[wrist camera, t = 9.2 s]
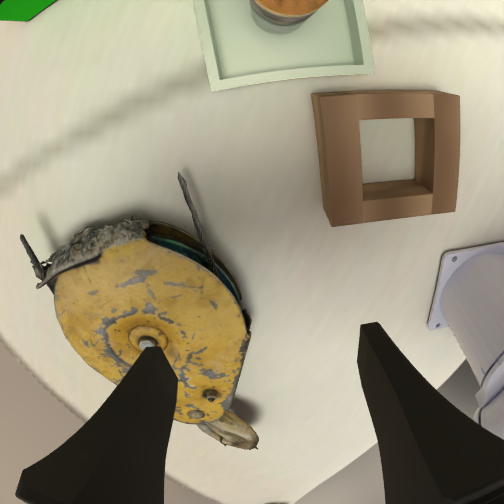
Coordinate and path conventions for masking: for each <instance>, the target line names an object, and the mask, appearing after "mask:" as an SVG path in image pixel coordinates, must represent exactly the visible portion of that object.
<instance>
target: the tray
mask: <svg viewBox="0 0 504 504" xmlns="http://www.w3.org/2000/svg"><path fill="white" fill-rule="evenodd" d="M193 3H194V8H195V13H196V18H197V23H198V28H199V33H200V38H201V43H202V48H203V53H204V58H205V63H206V68H207V73H208V78H209V83H210V88H211V92H213V91H218V90H223V89H229V88H234V87H240V86H246V85H252V84H259V83H265V82H273V81H281V80H289V79H298V78H309V77H321V76H336V75H358V74H374V66H373V58H372V51H371V44H370V38H369V32H368V26H367V20H366V15H365V10H364V5H363V0H328V1H327V2H326V3H325V4H324V5H323V6H322V7H321V8H320V9H318V10H317V11H316V12H315V13H314V14H313V15H312V16H311V17H310V18H309V19H307V20H306V21H305V22H304V23H303V24H302V25H301V26H300V27H299V28H298V29H296V30H295V31H293V32H290V33H287V34H272V33H269V32H266V31H264V30H263V29H261V28H260V27H259V26H258V25H257V24H256V23H255V22H254V20H253V18H252V14H251V8H250V1H249V0H193Z"/></svg>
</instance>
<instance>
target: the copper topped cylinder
mask: <svg viewBox="0 0 504 504" xmlns="http://www.w3.org/2000/svg"><path fill="white" fill-rule="evenodd" d="M249 1H250V8H251V14H252V18H253V20H254V22H255V23H256V24H257V25H258V26H259V27H260V28H261V29H263V30H264V31H266V32H269V33H272V34H287V33H290V32H293V31H295V30H296V29H298V28H299V27H300V26H301V25H302V24H303V23H304V22H305V21H306V20H307V19H309V18H310V17H311V16H312V15H313V14H314V13H315V12H316V11H317V10H318V9H320V8H321V7H322V6H323V5H324V4H325V3H326V2H327V1H328V0H249Z"/></svg>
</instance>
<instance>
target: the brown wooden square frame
mask: <svg viewBox="0 0 504 504" xmlns="http://www.w3.org/2000/svg"><path fill="white" fill-rule="evenodd" d="M311 96H312V103H313V111H314V118H315V126H316V135H317V143H318V153H319V162H320V172H321V183H322V195H323V207H324V210H325V213H326V215H327V217H328V219H329V222H330V224H331V226H332V227H336V226H343V225H351V224H359V223H367V222H375V221H382V220H390V219H398V218H407V217H415V216H423V215H431V214H440V213H448V212H455V208H456V199H457V188H458V176H459V159H460V96H458V95H454V94H450V93H445V92H440V91H427V90H363V91H342V92H328V93H316V94H311ZM389 118H414V119H415V179H411V180H400V181H389V182H378V183H368V184H362V165H361V148H360V133H359V121H358V120H367V119H389Z"/></svg>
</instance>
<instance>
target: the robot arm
mask: <svg viewBox="0 0 504 504" xmlns="http://www.w3.org/2000/svg"><path fill="white" fill-rule="evenodd" d="M454 256H455V257H454ZM453 257H454V258H453ZM452 258H453V259H452ZM447 326H449V327H450V328H451V330H452V332H453V334H454V336H455V337H456V339H457V341H458V343H459V345H460V347H461V349H462V351H463V352H464V354H465V356H466V358H467V360H468V362H469V364H470V366H471V368H472V370H473V372H474V374H475V376H476V378H477V381H478V382H479V385H480V387H481V389H480V391H479V392H478V393H477V394H476V395H475V397H476V399H477V402H478V404H479V408H478V409H477V410H476V412H475V414H474V418H473V420H472V419H471V418H469V417H468V416H467V415H465V414H464V413H462V412H461V411H460V410H459V409H457V408H456V407H455V406H454V405H453V404H451V403H450V402H449V401H448V400H447V399H446V398H444V397H443V396H442V395H441V394H440V393H439V392H438V391H437V390H436V389H435V388H434V387H433V386H432V385H431V384H430V383H429V382H428V381H427V380H426V379H425V378H424V377H423V376H422V375H421V374H420V373H419V372H418V371H417V369H416V368H415V367H414V366H413V365H412V364H411V363H410V361H409V360H408V359H407V358H406V357H405V356H404V354H403V353H402V352H401V351H400V350H399V348H398V347H397V346H396V345H395V343H394V342H393V341H392V340H391V338H390V337H389V336H388V334H387V333H386V332H385V330H384V329H383V328H382V326H381V325H380V324H379V323H378V322H374V323H368V324H362V325H361V326H360V337H359V348H358V357H357V363H358V369H359V374H360V379H361V385H362V388H363V392H364V395H365V398H366V402H367V405H368V408H369V412H370V415H371V418H372V422H373V425H374V429H375V432H376V436H377V440H378V444H379V450H380V457H381V463H382V471H383V479H384V489H385V501H386V504H504V242H500V243H495V244H489V245H484V246H478V247H473V248H467V249H461V250H456V251H450V252H446V253H445V254H444V255H443V257H442V261H441V267H440V272H439V277H438V282H437V287H436V291H435V296H434V300H433V304H432V308H431V313H430V317H429V320H428V324H427V327H428V329H429V330H435V329H439V328H443V327H447ZM177 391H178V377H177V376H176V374H175V372H174V370H173V368H172V367H171V365H170V363H169V361H168V359H167V357H166V356H165V354H164V352H163V350H162V348H161V346H152V347H146V348H145V349H144V350H143V352H142V353H141V354H140V356H139V357H138V358H137V360H136V361H135V362H134V364H133V365H132V367H131V368H130V369H129V371H128V372H127V373H126V375H125V376H124V378H123V379H122V380H121V382H120V383H119V384H118V386H117V387H116V388H115V390H114V391H113V392H112V393H111V395H110V396H109V397H108V398H107V400H106V401H105V402H104V403H103V404H102V406H101V407H100V408H99V409H98V411H97V412H96V413H95V414H94V415H93V416H92V417H91V418H90V419H89V420H88V421H87V422H86V423H85V424H84V425H83V427H81V428H80V429H79V430H78V431H77V432H76V433H75V434H74V435H73V436H71V437H70V438H69V439H68V440H67V441H66V442H65V443H64V444H62V445H61V446H60V447H59V448H57V449H56V450H54V451H53V452H52V453H50V454H49V455H48V456H46V457H45V458H43V459H41V460H40V461H38V462H37V463H35V464H33V465H31V466H30V467H28V468H26V469H24V470H23V471H22V474H21V477H20V480H19V484H18V487H17V490H16V493H15V495H16V497H17V498H19V499H21V500H22V501H24V502H26V503H28V504H164V475H165V460H166V453H167V447H168V442H169V437H170V432H171V428H172V423H173V418H174V413H175V408H176V403H177Z"/></svg>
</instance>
